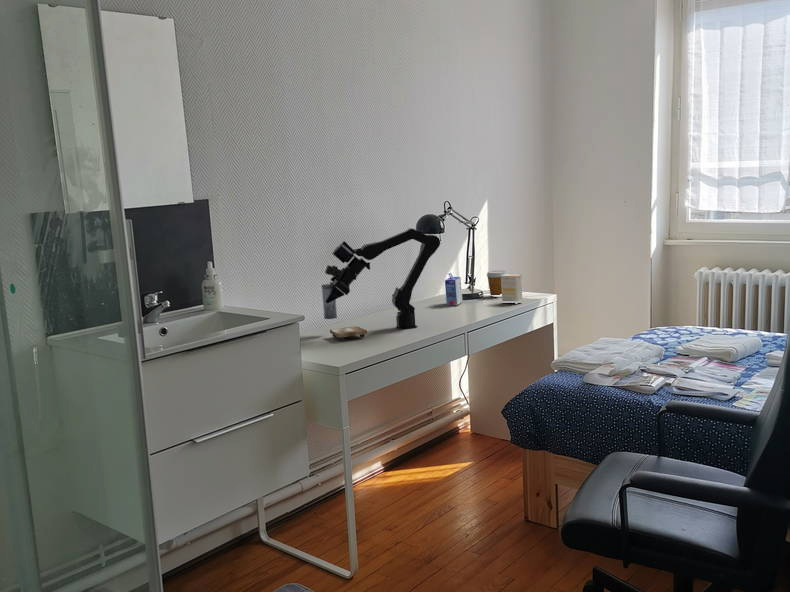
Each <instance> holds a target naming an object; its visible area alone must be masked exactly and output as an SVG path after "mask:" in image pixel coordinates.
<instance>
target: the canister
mask: <svg viewBox="0 0 790 592" xmlns="http://www.w3.org/2000/svg"><path fill="white" fill-rule="evenodd" d="M333 285H334V284H333ZM334 286H335V285H334ZM331 291H332V284H330V283H326V284H325V283H324V284H321V295H322V306H323V308H322V309H323V319H324V320H334V319H335V320H336V319H337V318H338V313H337V312H338V311H337V299H335V300H333V301H331V302H329V303H326V300H327V298H328V296H329V295H330V293H331Z"/></svg>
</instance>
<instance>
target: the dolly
mask: <svg viewBox="0 0 790 592" xmlns="http://www.w3.org/2000/svg"><path fill="white" fill-rule="evenodd" d="M329 333H330V334H331V335H332V337H333V338H337V337H338V338H339V340H340V341H341V342H342V341H345V339H346V338H347V337H354V336H359V337H360V338H362V339H363V338H365V336H366V334H368V329H364V328H363V327H360V326H357V325H355V326H354V325H352V326H348V327H339V328H333V329H331V328H330V329H329ZM345 337H346V338H345Z"/></svg>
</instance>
